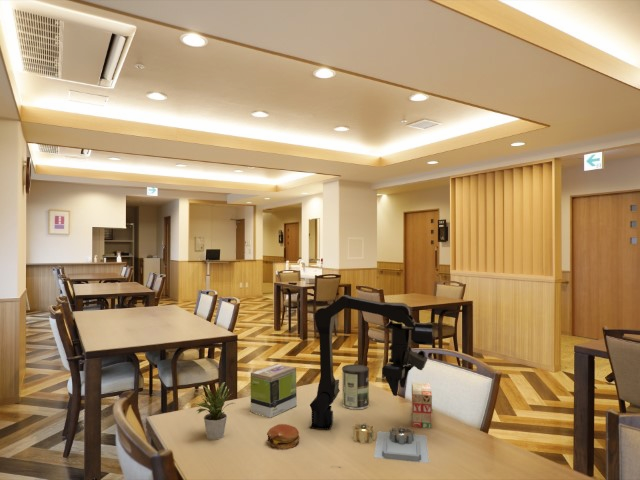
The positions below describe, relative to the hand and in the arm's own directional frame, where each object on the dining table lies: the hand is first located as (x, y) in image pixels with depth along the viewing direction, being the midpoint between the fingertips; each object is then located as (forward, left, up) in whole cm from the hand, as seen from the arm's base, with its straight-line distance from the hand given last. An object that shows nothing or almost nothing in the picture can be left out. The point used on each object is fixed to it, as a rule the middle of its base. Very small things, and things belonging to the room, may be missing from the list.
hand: (399, 391), depth 140 cm
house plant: (-58, -12, -14) cm, 60 cm away
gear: (+1, -6, -13) cm, 14 cm away
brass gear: (-11, -8, -14) cm, 19 cm away
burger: (-35, -13, -14) cm, 40 cm away
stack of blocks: (+7, +15, -14) cm, 22 cm away
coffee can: (-17, +24, -14) cm, 32 cm away
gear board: (+1, -11, -14) cm, 17 cm away
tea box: (-46, +13, -14) cm, 49 cm away
